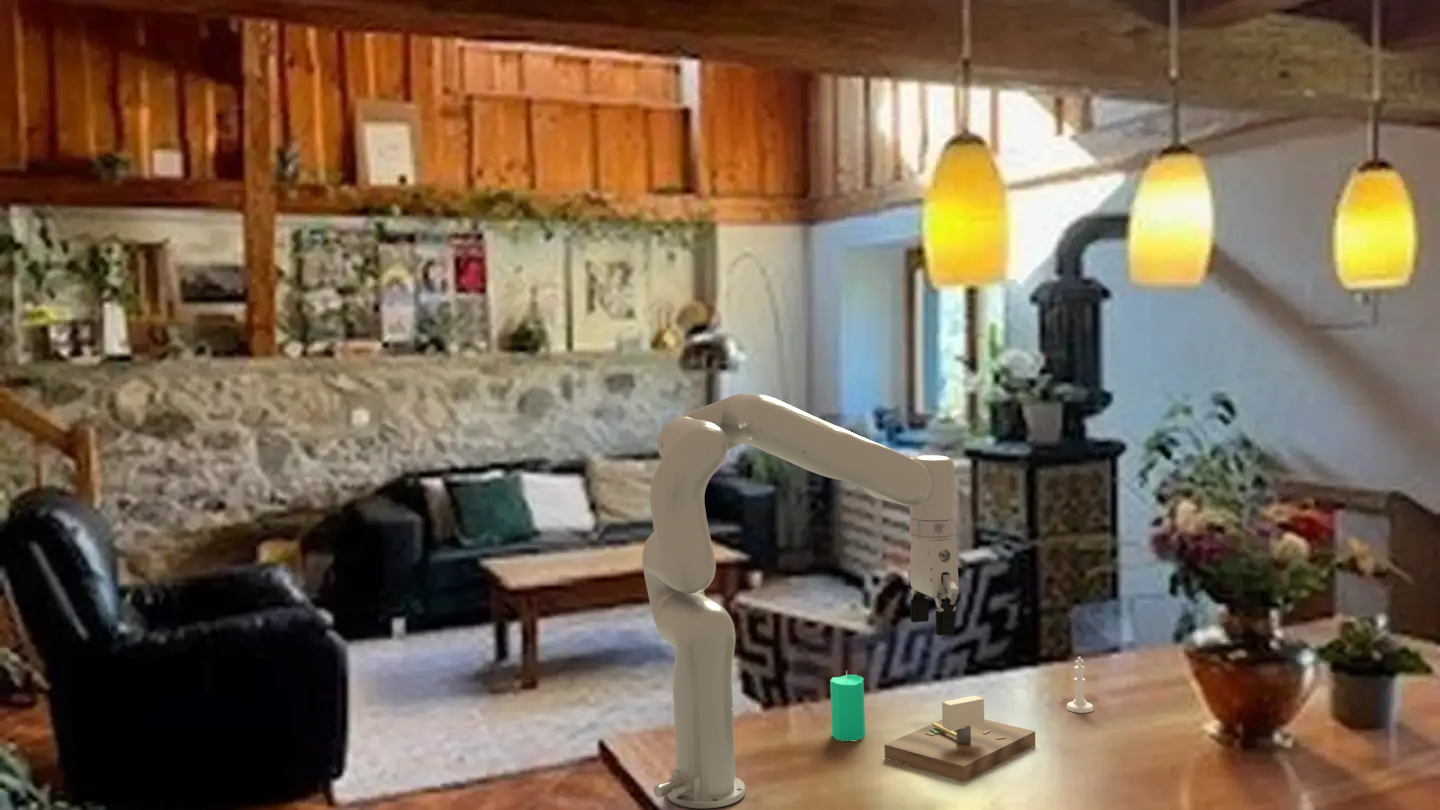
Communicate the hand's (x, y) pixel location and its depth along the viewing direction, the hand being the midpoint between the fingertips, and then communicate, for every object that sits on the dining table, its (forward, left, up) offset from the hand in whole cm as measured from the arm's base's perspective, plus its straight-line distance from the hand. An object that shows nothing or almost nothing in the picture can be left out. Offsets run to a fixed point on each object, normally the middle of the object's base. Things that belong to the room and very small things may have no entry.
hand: (932, 627), depth 208 cm
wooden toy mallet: (+3, -1, -19) cm, 20 cm away
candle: (-2, +17, -22) cm, 28 cm away
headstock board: (+4, -3, -22) cm, 23 cm away
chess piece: (+38, -7, -22) cm, 44 cm away
